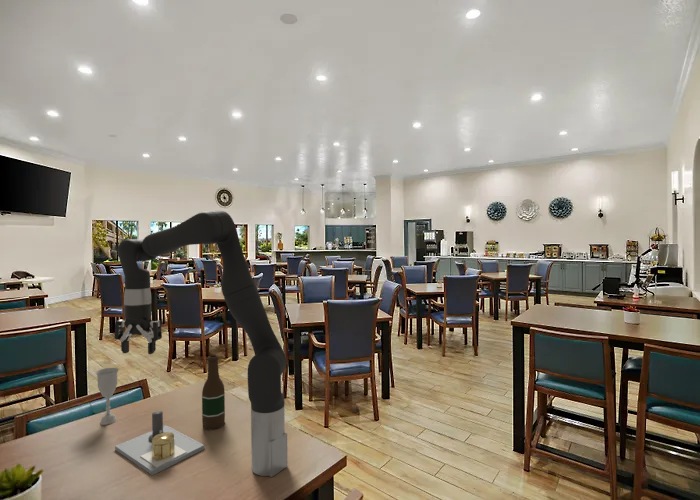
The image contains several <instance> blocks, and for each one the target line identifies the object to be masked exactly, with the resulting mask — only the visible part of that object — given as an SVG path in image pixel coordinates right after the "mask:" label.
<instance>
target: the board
mask: <svg viewBox="0 0 700 500" xmlns="http://www.w3.org/2000/svg"><path fill="white" fill-rule="evenodd" d="M163 414H164V412H163V411H162V410H156V411H153V412H152V414H151V420H152V421H151V425H152V426H151V428H152V429H151V431H147V432H145V433H143V434H141V435H138V436H136V437H133V438H131V439H129V440H127V441H124V442H122V443H119V444H117V445H116V444H115V446H114V450H115V451H116V452H117V453H119V454H120V455H122V456H124V457H125V458H126V459H128V460H129V461H130V462H132V463H134V464H135V465H136V466H138V467H140V468H141V469H142V470H143V471H145V472H147V473H148V474H150V475H151V476H153V475H156V474H157V473H159V472H161V471H164V470H166V469H168V468H169V467H172V466H173V465H176V464H177V463H179V462H182V461H183V460H186V459H188V458H189V457H191V456H193V455H195V454H197V453H199V452H201V451H203V450H205V444H203V443H201V442H199V441H198V440H195V439H193V438H192V437H190V436H189V435H188V436H187V435H186V434H183V433H182V432H180V431H178V430H176V429H175V428H173V427H170V426H168V425H164V423H163V422H164V421H163V420H164V418H163V417H164V416H163ZM165 432H171V433H173V434H174V444H175V453H174V454H173V455H172V456H170V457H168V458H166V459H163V460H155V459H153V457H152V438H153V437H154V436H156V435H158V434H160V433H165Z"/></svg>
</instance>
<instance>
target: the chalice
mask: <svg viewBox="0 0 700 500" xmlns="http://www.w3.org/2000/svg"><path fill="white" fill-rule="evenodd" d="M118 373H119V368H118V367H106V368H102V369H99V370H97V371H96V372H95V374H96V376H97V389H98V391H99V392H100V394H101V396H102V397H103V398H106V400H105V405H106V407H105V410H106V413H105V414H104V415H102V417H101V420H100V422H99V425H100V426H101V425H103V426H108V425H111V424H113V423H116V422H117V420H118V419H117V418H116V415H115V414H114V413H113V412H111V411H110V410H111V409H112V407H111V405H110V404H111V401H110V400H111V399H110V398H111V397H113V394H114V393H115V391H116V388H117V385H118Z"/></svg>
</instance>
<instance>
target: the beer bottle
mask: <svg viewBox="0 0 700 500" xmlns="http://www.w3.org/2000/svg"><path fill="white" fill-rule="evenodd" d="M218 361H219V355H216V354H211V355H209V356H208V357H207V362H208V365H207V378H206V381H205V382H204V385H203V387H202V390H201V391H202V392H201V406H202V407H201V415H202V416H201V417H202V418H201V419H202V428H203V429H205V430H208V431H210V430H218V429H220V428H221V427H223V426H224V425H225V420H226V418H225V417H226V409H225V408H226V399H225V395H226V394H225V393H226V392H225V390H226V389H225V385H224V382H223V380H222V379H221V378H220V372H219V362H218Z"/></svg>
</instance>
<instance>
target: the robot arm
mask: <svg viewBox="0 0 700 500" xmlns="http://www.w3.org/2000/svg"><path fill="white" fill-rule="evenodd" d="M238 234H239V233H238V231H237V227H236V224H235V222H234V220H233V218H232V216H231V215H230V214H229V213H228V212H227V211H224V210H207V211H206V210H205V211H201V212H198V213H196V214H194V215H192V216H191V217H190V218H189V217H188V218H187V219H186V220H184V221H183V222H180V223H179V224H177V225H175V226H172V227H170V228H169V227H168V228H166V229H162V230H159V231H156V232H153V233H150V234H148V235H146V236H145V237H144V238H143V239H135V238H134V239H133V238H132V239H131V238H129V239H124V240H122V241H121V242H120V243H119V244H118V247H117V256H118V260H119V262H120V265H121V269H122V272H123V275H124V292H123V293H124V296H123V309H124V310H123V313H124V316H123V317H124V319H119V320H116V321H114V340H117V341H120V349H121V350H120V351H121V353H122V354H128V353H129V352H130V338H131V336H135V335H139V336H143V337H144V338H145V339H146V340H147V354H148V355H153V354H154V353H155V352H156V344H157V343H156V341H158V340H161V339H162V338H163V336H162V334H163V332H162V321H161V320H160V319H158V320H155V321H154V320H152V319H151V318H152V292H151V273H150V271H149V270H148V269H144V268H140V266H139V264H138V262H149V261H152V260H155V259H156V258H158V257H160V256H163V255H166V254H167V255H168V254H170V253H172V252H176V251H177V250H179V249H180V248H182V247H186V246H192V245H213V244H215V245H216V246H217V247H218V250H219V253H220V256H221V260H222V273H221V274H222V275H221V284H220V285H221V292H222V296H223V299H224V301H225V304H226V306H227V308H228V310H229V313H230V314H231V316H232V317H233V319H235V321H236V322H237V324H238V325H239V326H240V327H241V328H242V330H243V331H244V332H245V334H246V335H247V337H248V339H249V341H250V343H251V346H252V350H253V351H254V352H253V353H254V355H253V356H252V357H251V358H250V360H249V362H248V366H247V392H248V395H247V396H248V399H249V402H250V431H251V432H250V434H251V438H250V440H251V442H250V443H251V452H250V453H251V471H252V472H253V473H254V474H255V475H257V476H261V477H267V476H269V477H271V478H272V477H274V476H275V475H277V474H279V473H280V472H281V471H283V470H284V469H286V468H287V467H288V462H289V461H288V433H287V432H285V431H286V430H285V427H286V426H285V425H286V424H285V421H286V420H285V409H286V408H285V406H286V405H285V394H284V393H283V392H282V380H281V379H282V376H281V375H283V374H284V372H285V370H286V368H287V362H288V360H287V356H286V353H285V351H284V349H283V347H282V345H281V344H280V342H279V340H278V338H277V336H276V334H275V332H274V330H273V328H272V326H271V323H270V320H269V317H268V315H267V312H266V310H265V306H264V303H263V301H262V298H261V295H260V293H259V290H258V288H257V285H256V283H255V281H254V278H253V276H252V274H251V271H250V268H249V265H248V263H247V260H246V257H245V255H244V252H243V248H242V245H241V241H240V238H239V235H238ZM125 327H126V329H125V330H124V328H125Z"/></svg>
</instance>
